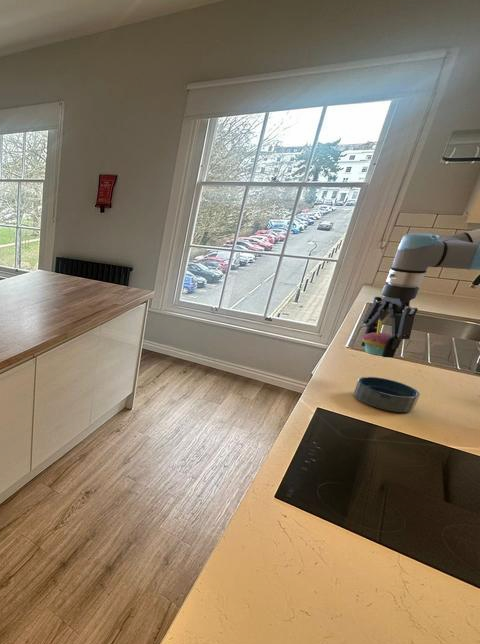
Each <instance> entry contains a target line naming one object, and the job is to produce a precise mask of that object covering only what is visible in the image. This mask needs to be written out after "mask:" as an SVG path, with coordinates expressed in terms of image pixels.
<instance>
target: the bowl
mask: <svg viewBox="0 0 480 644" xmlns="http://www.w3.org/2000/svg"><path fill="white" fill-rule="evenodd" d="M420 395H421V394H420V392H419V391H418V390H417V389H416V388H414V387H413V386H410V385H408V384H405V383H404V382H403V383H402V382H399V381H397V380H394V379H393V380H392V379H388V378H385V377H384V378H383V377H377V376H362V377H360V378H358V380H357V382H356V386H355V388H354V391H353V396H354V398H355V399H357V400H358V401H360V402H362V403H364V404H366V405H367V406H370V407H373V408H375V409H379V410H384V411H388V412H395V413H409V412H410V413H411V412H412V411H414V409H415V407H416V405H417V402H418V400H419V398H420Z"/></svg>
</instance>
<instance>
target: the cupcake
mask: <svg viewBox="0 0 480 644" xmlns="http://www.w3.org/2000/svg"><path fill="white" fill-rule="evenodd" d="M381 325H382V322H381V320H380V318H379V320H378V327H376V328H377V333H375V332H374V333H367V334H365V333H364V335H363V336H362V342H364V343H365V346H364V348H365V353H366V354H368V355H371V356H376V357H382V354H383V351H384V348H385V346H386V343H387V341H388V338H389V337H392V334H388V333H385V332H381Z"/></svg>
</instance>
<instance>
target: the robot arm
mask: <svg viewBox="0 0 480 644" xmlns="http://www.w3.org/2000/svg"><path fill="white" fill-rule="evenodd" d="M428 268H443V269H458V270H467V271H470V270H479V271H480V228H477V229H473V230H468V231H464V232H460V233H455V234H451V235H445V234H444V235H443V234H442V235H439V234H434V233H421V232H411V233H407V234H405V235H403V237H402V239H401V240H400V242H399V245H398V247H397V250H396V252H395V256H394V259H393V261H392V265H391V267H390V270H389V273H388V275H387V278H386V280H385V281H386V283H385V284H384V285H383V288H382V291H381V295H382V296H374V297H373V302H372V305H370V308H369V309H368V311H367V313H366V315H365V317H364V319H363V320H362V323H363V324H365V325H366V329H365V332H364V335H365V334H367V333H374V332H375V333H377V327H378V320H379V318H380V320H381V323H382V322H383V321H384V320H385V319H386V318H387V316H388V315H389V317H390V318H391V335H392V337H389V338H388V341H387V343H386V346H385V348H384V351H383V354H382V356H381V357H382V358H391V359H392V358H394V357H395V354H396V352H397V349H399V347H400V345H401V342H402V340H409V339H411V334H412V331H413V330H412V329H413V325H414V320H415V316H416V315H417V313H418V311H419V309H418V307H412V306H411V305H410V304H411V303H410V302H411V300H414V299H416V298H417V295H418V293H419V290H420V288H419V287H420V286H421V285H422V284H423V281H424V278H425V275H426V273H427V271H428ZM360 346H361V347H365V343H364V342H363V341H362V342H361V345H360Z"/></svg>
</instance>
